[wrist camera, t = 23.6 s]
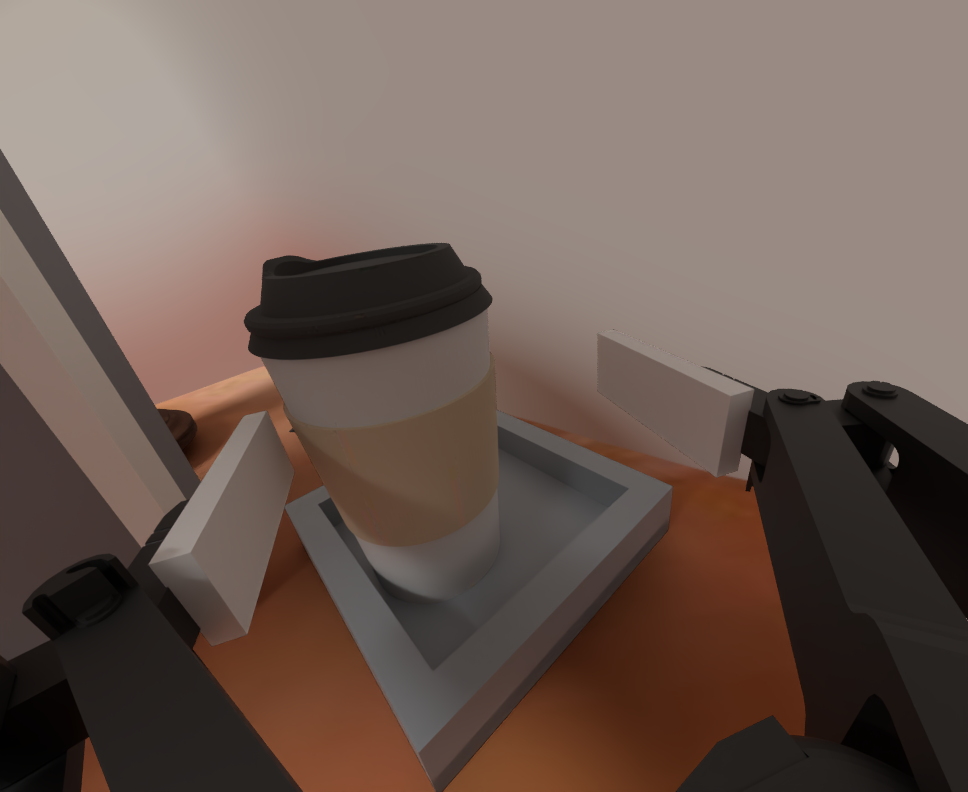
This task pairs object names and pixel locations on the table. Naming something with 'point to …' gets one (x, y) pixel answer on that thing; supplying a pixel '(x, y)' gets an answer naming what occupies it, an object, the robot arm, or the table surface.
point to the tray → (493, 590)
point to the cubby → (67, 426)
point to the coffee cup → (392, 405)
